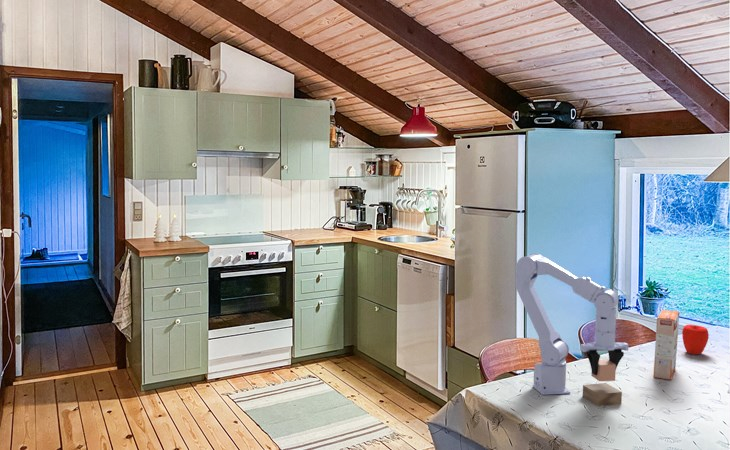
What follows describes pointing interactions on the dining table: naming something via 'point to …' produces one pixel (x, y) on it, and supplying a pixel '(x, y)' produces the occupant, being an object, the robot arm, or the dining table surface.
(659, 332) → the cracker box
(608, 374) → the terracotta block
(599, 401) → the walnut base
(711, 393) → the dining table surface
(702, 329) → the apple
